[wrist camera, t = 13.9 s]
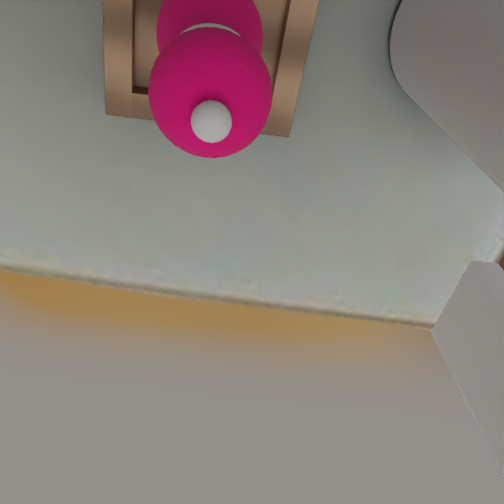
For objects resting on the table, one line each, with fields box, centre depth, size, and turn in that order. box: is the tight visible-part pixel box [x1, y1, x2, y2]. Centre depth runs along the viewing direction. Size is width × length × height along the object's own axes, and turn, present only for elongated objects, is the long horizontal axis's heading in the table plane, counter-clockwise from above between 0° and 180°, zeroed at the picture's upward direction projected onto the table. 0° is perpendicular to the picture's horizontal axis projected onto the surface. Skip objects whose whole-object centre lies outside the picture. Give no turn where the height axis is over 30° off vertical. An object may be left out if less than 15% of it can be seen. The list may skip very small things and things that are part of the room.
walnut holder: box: [103, 0, 319, 137], centre depth 35 cm, size 15×15×2 cm
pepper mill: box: [148, 0, 272, 158], centre depth 27 cm, size 7×7×20 cm
